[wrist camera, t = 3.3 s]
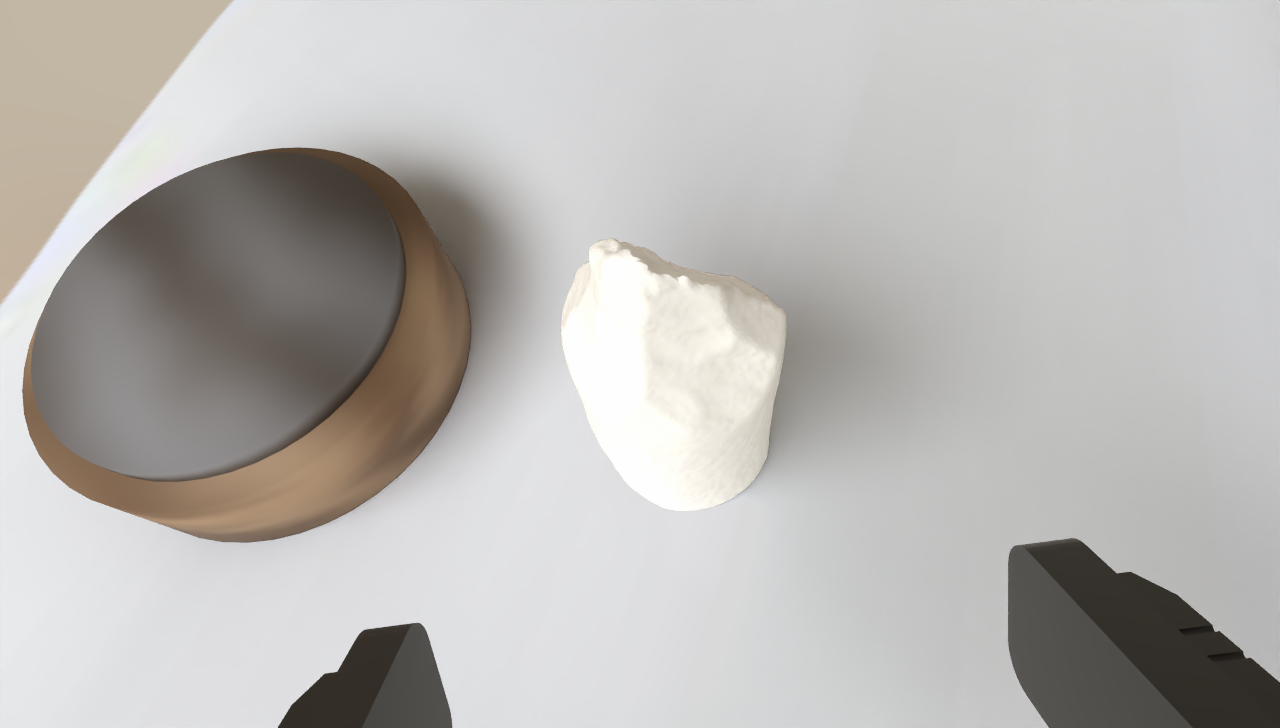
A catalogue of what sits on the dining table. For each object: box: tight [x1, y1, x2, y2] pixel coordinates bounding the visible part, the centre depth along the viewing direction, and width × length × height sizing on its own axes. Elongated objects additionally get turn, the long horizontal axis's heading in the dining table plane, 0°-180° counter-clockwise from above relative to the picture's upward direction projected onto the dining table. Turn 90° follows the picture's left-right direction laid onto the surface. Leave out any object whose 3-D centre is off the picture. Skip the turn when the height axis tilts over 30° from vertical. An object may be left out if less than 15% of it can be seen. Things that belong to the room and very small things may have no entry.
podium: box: [22, 148, 471, 542], centre depth 27 cm, size 15×15×5 cm
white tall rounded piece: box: [561, 239, 786, 511], centre depth 20 cm, size 6×12×6 cm
